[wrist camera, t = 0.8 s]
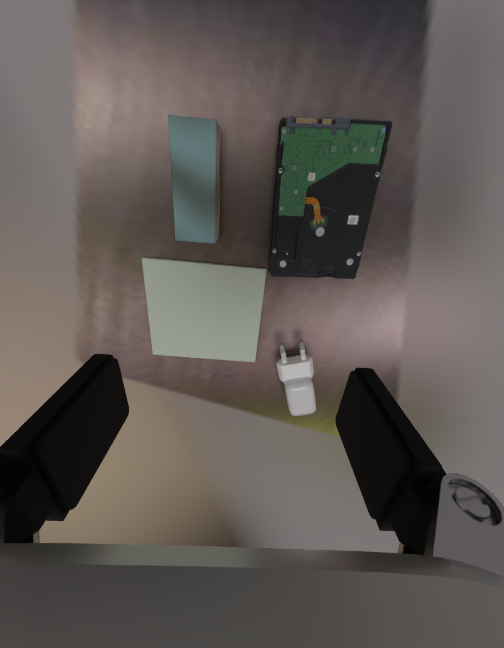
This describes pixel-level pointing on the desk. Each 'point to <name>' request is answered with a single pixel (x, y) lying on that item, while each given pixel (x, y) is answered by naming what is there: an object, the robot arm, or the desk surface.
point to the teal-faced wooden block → (195, 177)
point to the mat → (203, 308)
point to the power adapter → (297, 381)
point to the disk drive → (324, 194)
